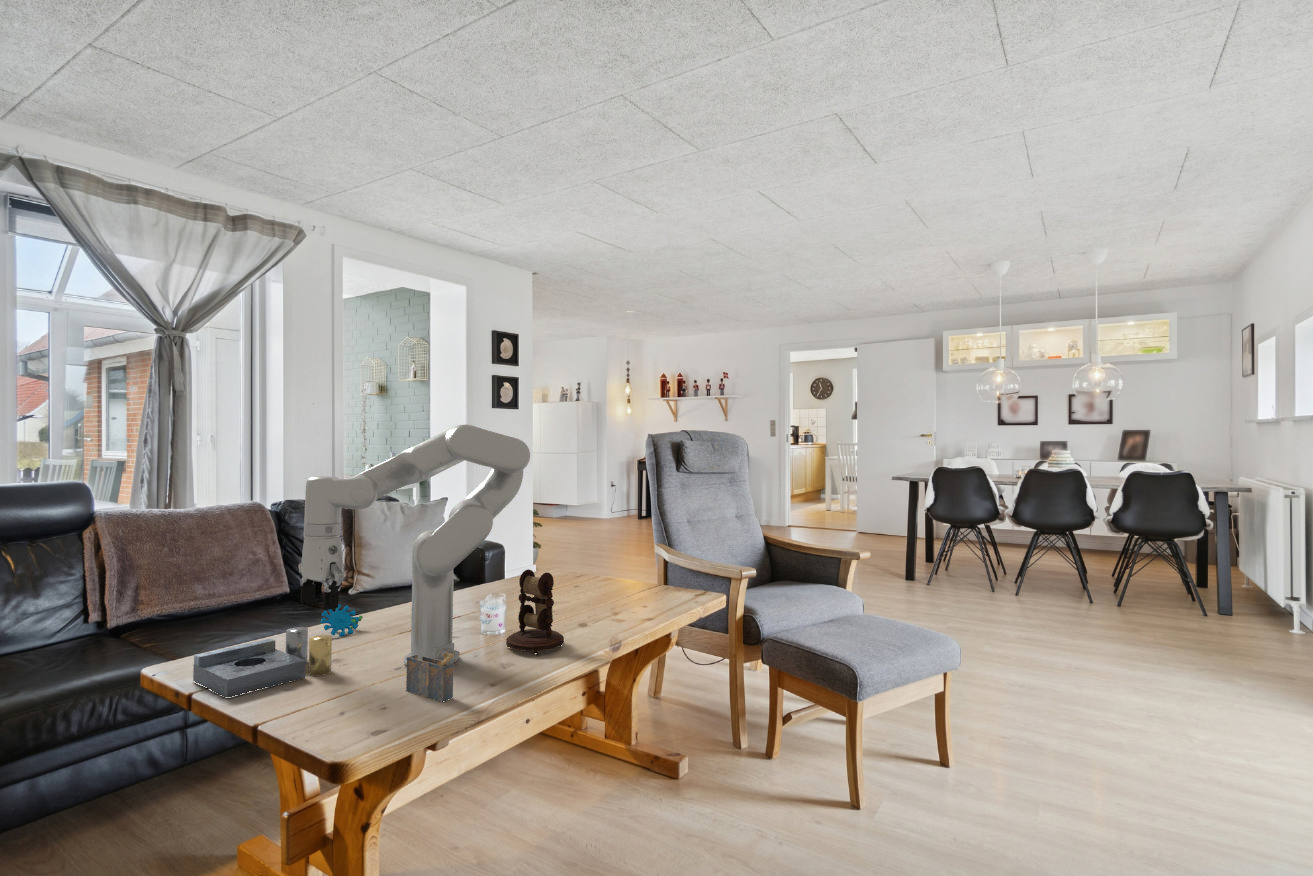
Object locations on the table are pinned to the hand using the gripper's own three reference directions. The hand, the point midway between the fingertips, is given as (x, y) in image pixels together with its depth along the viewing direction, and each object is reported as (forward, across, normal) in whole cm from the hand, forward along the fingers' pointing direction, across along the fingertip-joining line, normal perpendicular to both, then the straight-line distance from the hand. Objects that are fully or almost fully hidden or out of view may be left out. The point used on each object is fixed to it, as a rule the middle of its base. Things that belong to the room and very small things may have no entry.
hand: (319, 605), depth 157 cm
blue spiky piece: (+16, +26, -21) cm, 37 cm away
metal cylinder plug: (+15, +10, -1) cm, 18 cm away
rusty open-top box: (+16, -32, -7) cm, 36 cm away
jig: (+16, +7, +11) cm, 20 cm away
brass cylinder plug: (+15, 0, -1) cm, 15 cm away
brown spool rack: (+14, -25, -44) cm, 53 cm away
